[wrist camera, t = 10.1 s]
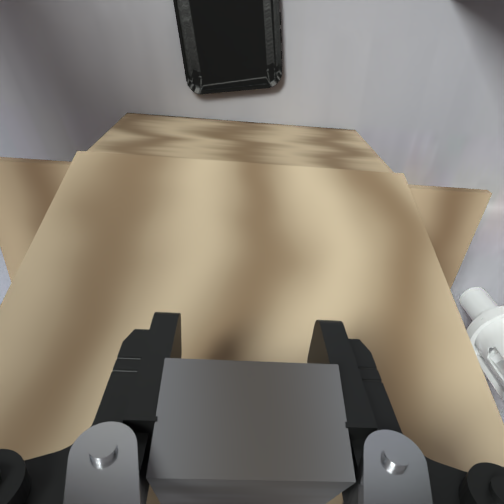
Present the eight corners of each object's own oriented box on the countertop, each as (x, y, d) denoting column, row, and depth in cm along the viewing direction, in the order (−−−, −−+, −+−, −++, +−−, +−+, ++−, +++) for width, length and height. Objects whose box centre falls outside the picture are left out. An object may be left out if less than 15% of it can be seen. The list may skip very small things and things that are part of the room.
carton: (83, 278, 43) (35, 360, 33) (52, 107, 33) (-29, 150, 23) (374, 292, 45) (412, 375, 35) (423, 135, 35) (495, 186, 25)
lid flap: (-93, 519, 12) (-314, 468, 7) (79, 159, 24) (45, 44, 19) (532, 527, 13) (733, 489, 8) (400, 181, 25) (448, 78, 20)
